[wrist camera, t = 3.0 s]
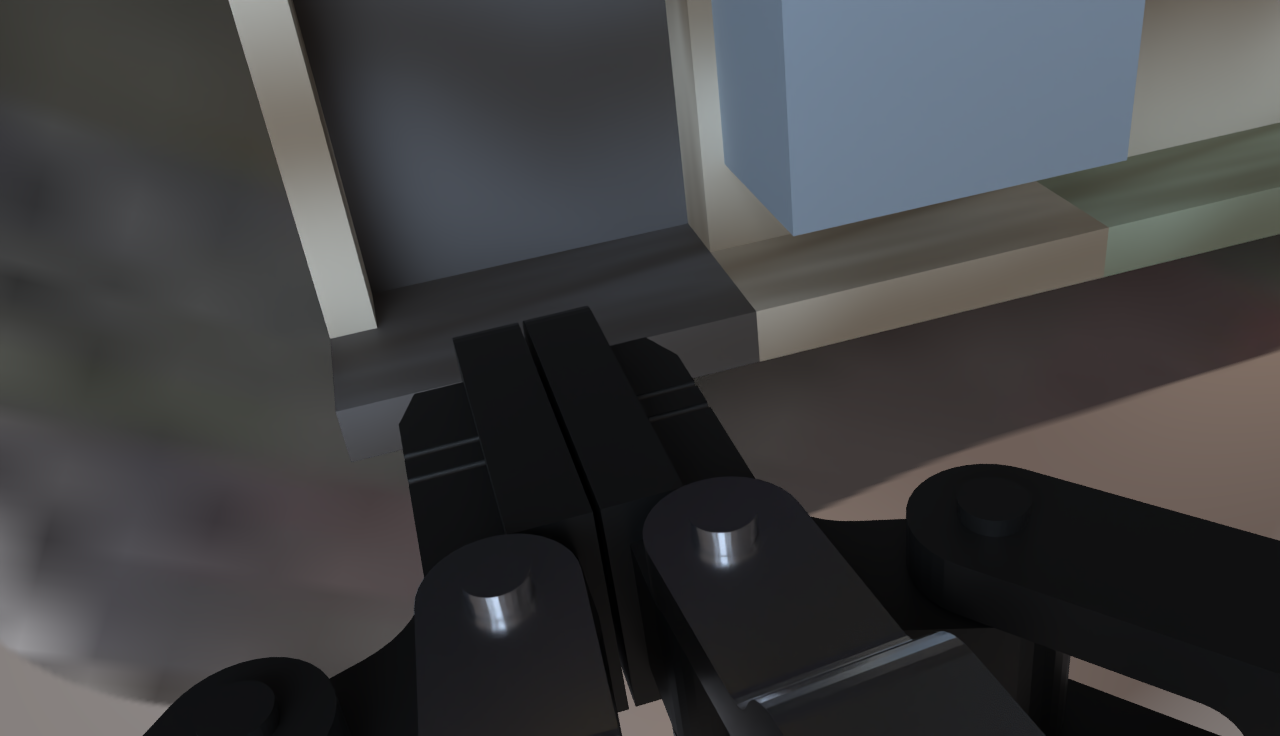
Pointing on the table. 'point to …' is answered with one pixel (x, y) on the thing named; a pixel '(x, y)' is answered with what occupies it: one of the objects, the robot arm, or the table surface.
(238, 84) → the table surface
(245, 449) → the table surface
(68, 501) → the table surface
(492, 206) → the trap lane
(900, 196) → the slate block
